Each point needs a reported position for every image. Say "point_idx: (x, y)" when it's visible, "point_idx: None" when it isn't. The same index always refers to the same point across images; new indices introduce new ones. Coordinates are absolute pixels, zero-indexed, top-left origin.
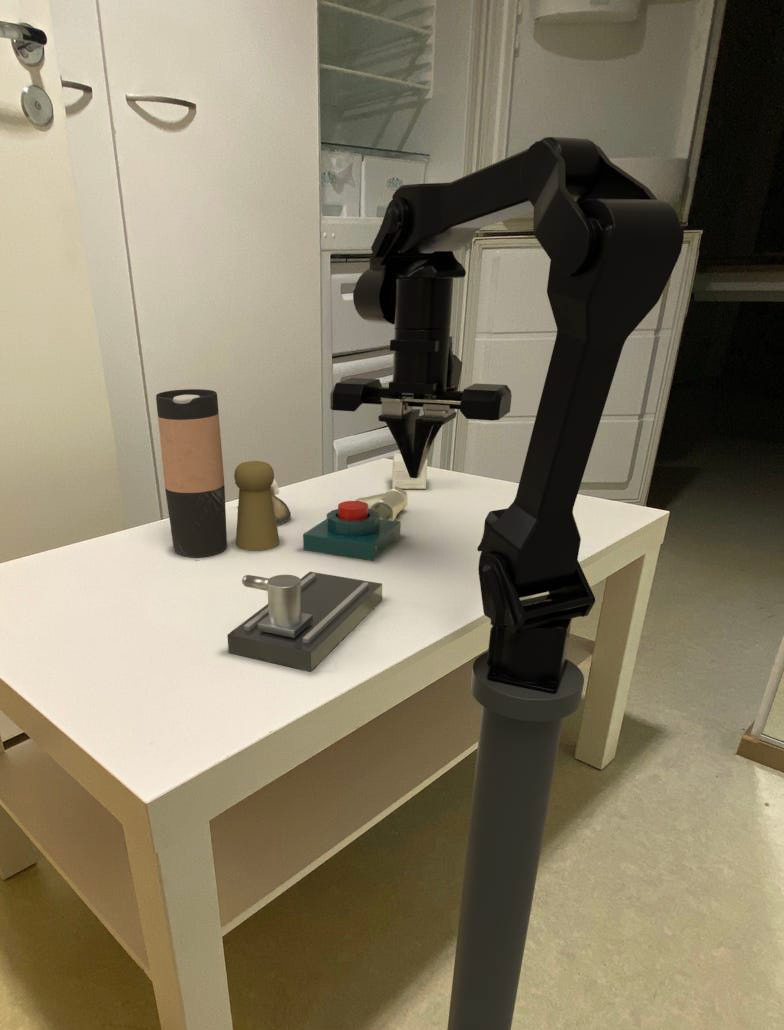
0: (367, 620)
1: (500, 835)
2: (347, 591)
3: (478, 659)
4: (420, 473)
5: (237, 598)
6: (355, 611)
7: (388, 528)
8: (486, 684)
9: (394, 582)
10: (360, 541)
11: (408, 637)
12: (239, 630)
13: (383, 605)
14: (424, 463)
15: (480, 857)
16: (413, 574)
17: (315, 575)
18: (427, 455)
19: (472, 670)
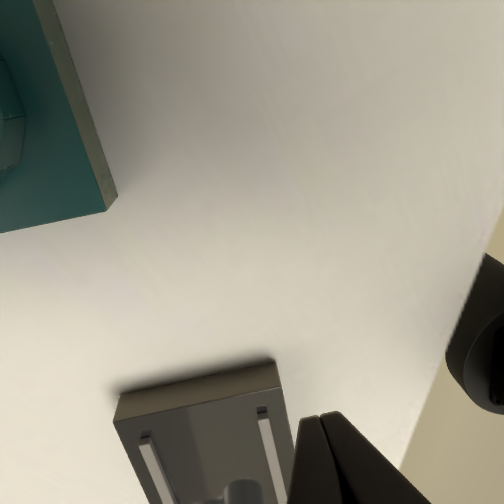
0: (297, 428)
1: None
2: (245, 445)
3: (467, 367)
4: (346, 420)
5: (55, 488)
6: None
7: (25, 29)
8: (491, 410)
9: (248, 279)
10: (56, 213)
11: (381, 433)
12: None
13: (290, 375)
14: (385, 459)
15: None
16: (260, 214)
17: (151, 446)
18: (425, 502)
19: (463, 386)
